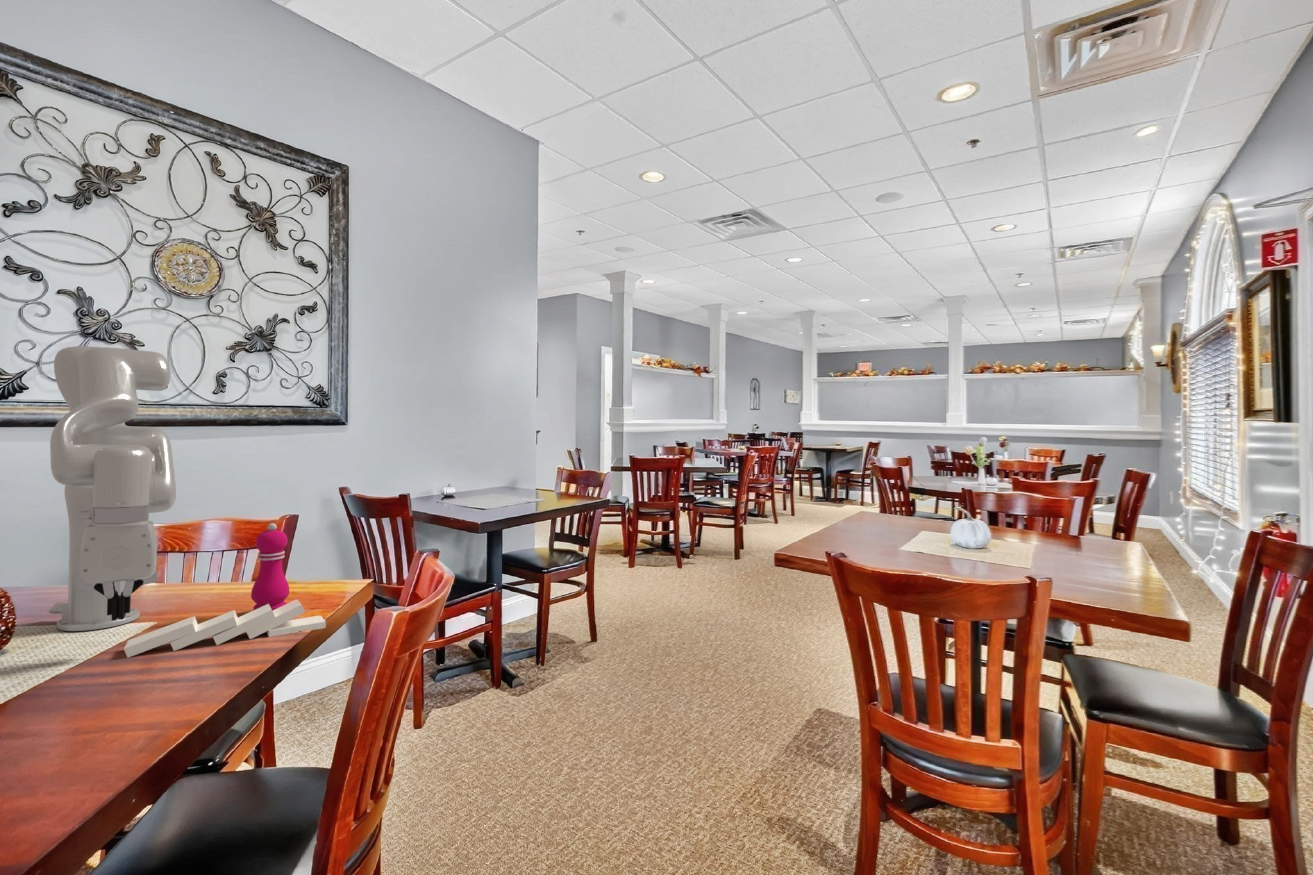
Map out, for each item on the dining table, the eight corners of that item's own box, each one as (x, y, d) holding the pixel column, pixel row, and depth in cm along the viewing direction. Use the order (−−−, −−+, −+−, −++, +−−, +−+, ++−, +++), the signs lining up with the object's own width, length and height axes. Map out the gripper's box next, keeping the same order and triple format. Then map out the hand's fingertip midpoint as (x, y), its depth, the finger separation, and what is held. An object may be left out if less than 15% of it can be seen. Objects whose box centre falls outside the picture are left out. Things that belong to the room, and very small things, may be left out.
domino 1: (170, 642, 109) (233, 616, 114) (173, 634, 113) (234, 609, 119) (173, 651, 109) (237, 625, 115) (176, 642, 114) (237, 617, 119)
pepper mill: (296, 608, 137) (298, 521, 137) (273, 618, 130) (275, 526, 130) (267, 607, 138) (269, 520, 138) (242, 616, 130) (244, 524, 130)
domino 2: (212, 637, 113) (271, 609, 118) (211, 629, 117) (268, 603, 122) (216, 645, 113) (275, 617, 119) (215, 637, 117) (272, 611, 123)
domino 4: (268, 630, 118) (325, 621, 124) (265, 623, 122) (320, 615, 128) (268, 639, 118) (325, 630, 124) (265, 632, 122) (320, 623, 128)
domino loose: (123, 648, 105) (192, 623, 111) (128, 639, 110) (194, 615, 115) (127, 657, 106) (195, 631, 111) (132, 648, 110) (197, 624, 115)
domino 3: (246, 631, 116) (301, 604, 122) (243, 624, 120) (296, 599, 126) (250, 639, 116) (305, 612, 122) (246, 632, 120) (300, 606, 126)
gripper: (58, 521, 100) (55, 631, 100) (173, 516, 108) (170, 617, 108) (67, 515, 106) (65, 619, 106) (176, 511, 115) (173, 606, 115)
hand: (118, 617), depth 107 cm, fingers closed
